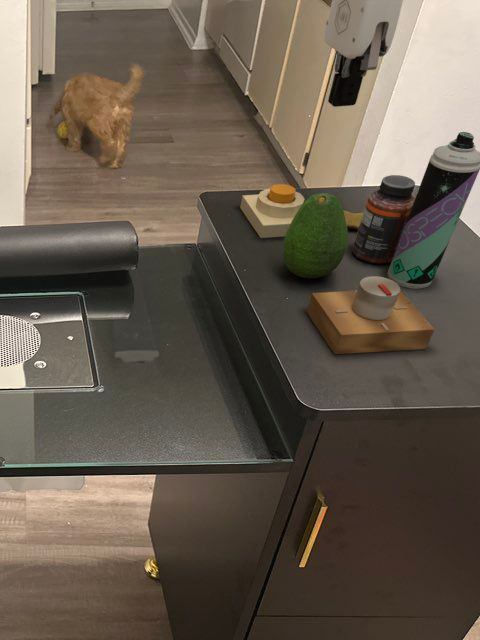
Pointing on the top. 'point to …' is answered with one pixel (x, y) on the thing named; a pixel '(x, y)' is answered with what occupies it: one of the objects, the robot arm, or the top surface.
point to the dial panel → (367, 325)
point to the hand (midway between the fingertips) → (341, 103)
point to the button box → (270, 213)
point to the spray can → (435, 212)
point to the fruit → (316, 237)
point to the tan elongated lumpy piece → (353, 219)
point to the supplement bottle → (384, 220)
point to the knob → (375, 298)
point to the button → (282, 194)
